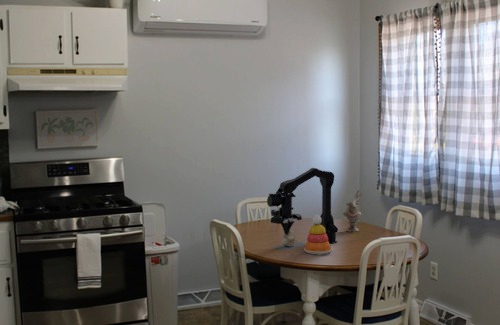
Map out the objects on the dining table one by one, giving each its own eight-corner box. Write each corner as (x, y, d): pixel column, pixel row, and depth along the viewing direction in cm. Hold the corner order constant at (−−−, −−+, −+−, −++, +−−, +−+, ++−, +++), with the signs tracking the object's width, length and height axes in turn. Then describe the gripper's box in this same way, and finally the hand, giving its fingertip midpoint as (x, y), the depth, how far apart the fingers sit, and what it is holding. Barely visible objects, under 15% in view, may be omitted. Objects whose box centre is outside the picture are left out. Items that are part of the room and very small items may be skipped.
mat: (310, 244, 300) (310, 244, 300) (285, 250, 286) (285, 250, 286) (296, 241, 307) (296, 241, 307) (271, 247, 294) (271, 247, 294)
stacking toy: (337, 252, 283) (337, 214, 282) (321, 257, 273) (321, 218, 271) (314, 247, 293) (314, 211, 291) (298, 252, 282) (298, 215, 280)
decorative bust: (354, 232, 324) (354, 190, 326) (340, 231, 335) (340, 190, 337) (368, 232, 330) (367, 190, 332) (354, 231, 341) (353, 190, 343)
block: (293, 246, 294) (295, 231, 295) (289, 246, 292) (291, 231, 292) (287, 245, 298) (288, 230, 298) (282, 244, 296) (284, 230, 296)
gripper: (287, 202, 304) (287, 229, 306) (263, 205, 292) (263, 234, 293) (302, 204, 296) (302, 232, 298) (278, 208, 284) (278, 237, 285)
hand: (286, 234), depth 293 cm, fingers closed
